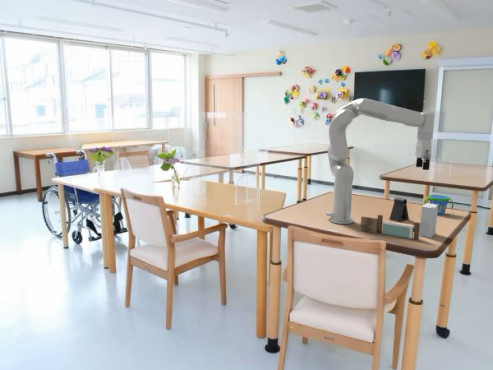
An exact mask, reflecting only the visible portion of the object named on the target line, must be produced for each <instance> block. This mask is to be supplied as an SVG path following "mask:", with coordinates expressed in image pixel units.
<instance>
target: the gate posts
mask: <svg viewBox="0 0 493 370" xmlns="http://www.w3.org/2000/svg"><path fill="white" fill-rule="evenodd" d="M383 218H384V217H383V215H382V214H378V215H377V218H375V217H368V216H361V217H360V231H361V232H368V233H375V234H377V233H378V234H379V235H382V234H383V233H382V227H383V224H382V221H384V220H383ZM419 231H420V222H418V221H417V222H416V221H415V222H414V228H413V238H412V239H414V240H413V241H419V240H420V235H419ZM381 233H382V234H381ZM418 239H419V240H418Z"/></svg>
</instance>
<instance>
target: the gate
mask: <svg viewBox="0 0 493 370" xmlns="http://www.w3.org/2000/svg"><path fill="white" fill-rule="evenodd" d="M413 228H414V225H413V224H408V223H401V222H395V221H394V222H393V221H386V220H383V221H382V234H383V235H390V236H397V237H401V238H407V239H413V238H414V232H413Z"/></svg>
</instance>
